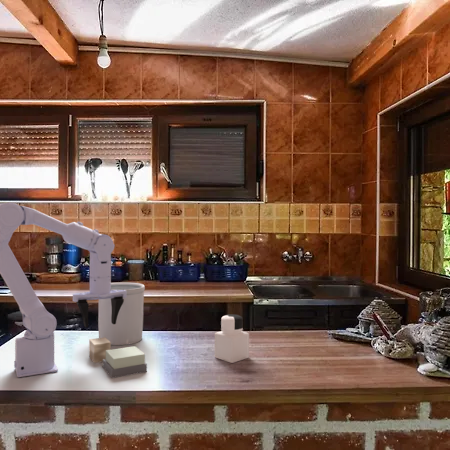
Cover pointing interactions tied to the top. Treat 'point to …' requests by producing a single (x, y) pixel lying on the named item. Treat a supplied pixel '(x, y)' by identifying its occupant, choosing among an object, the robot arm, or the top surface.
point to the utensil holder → (123, 315)
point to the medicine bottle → (231, 340)
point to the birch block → (98, 349)
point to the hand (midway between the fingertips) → (100, 325)
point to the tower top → (125, 357)
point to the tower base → (124, 369)
